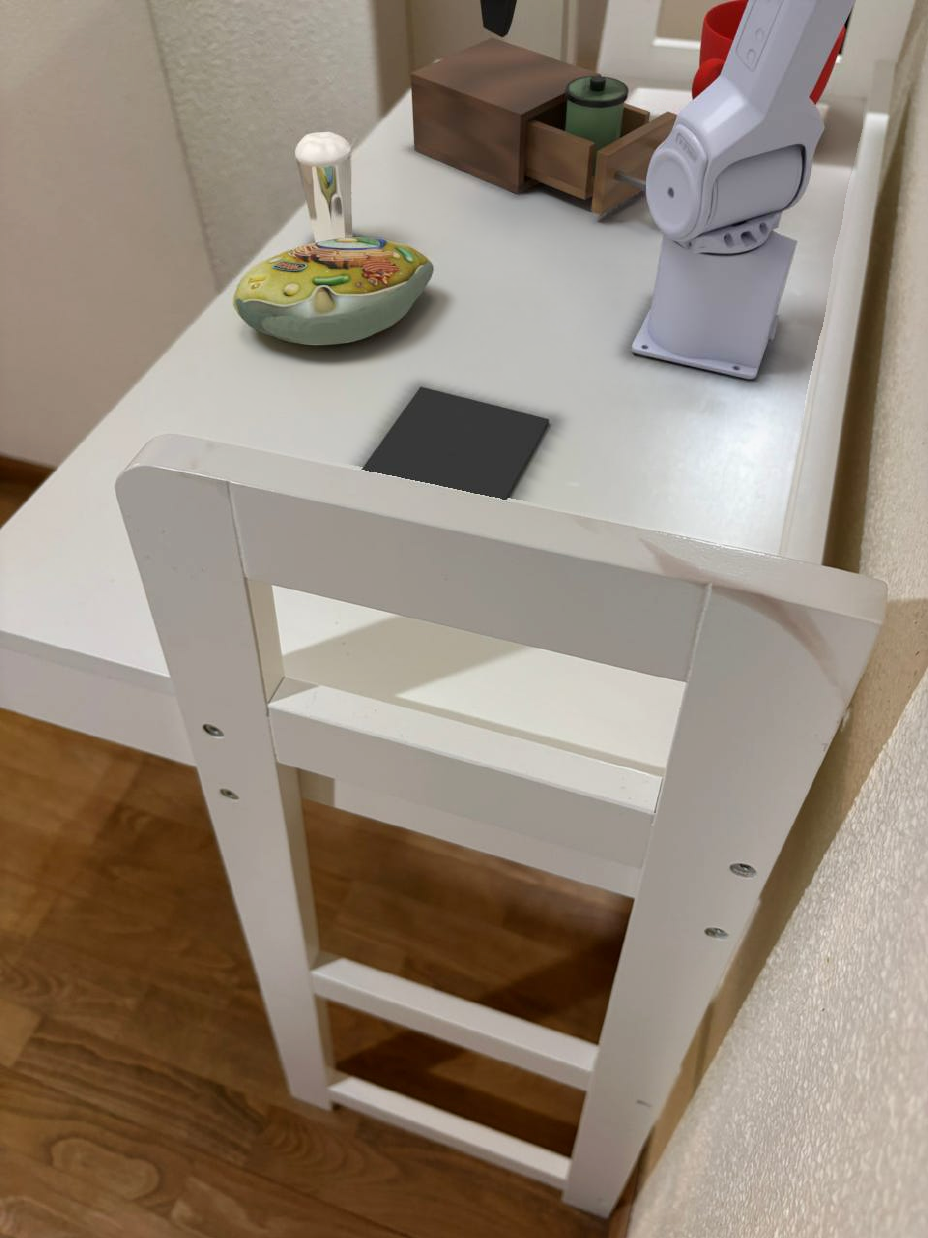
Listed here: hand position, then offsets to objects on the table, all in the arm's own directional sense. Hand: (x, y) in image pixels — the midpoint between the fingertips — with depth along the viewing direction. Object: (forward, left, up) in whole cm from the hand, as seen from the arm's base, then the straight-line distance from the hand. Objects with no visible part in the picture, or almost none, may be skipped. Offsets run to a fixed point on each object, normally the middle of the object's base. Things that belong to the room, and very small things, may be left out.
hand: (522, 11), depth 76 cm
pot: (-6, -3, -13) cm, 14 cm away
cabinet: (+4, -6, -15) cm, 16 cm away
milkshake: (+11, +16, -15) cm, 24 cm away
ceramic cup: (-17, -17, -15) cm, 29 cm away
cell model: (+6, +26, -15) cm, 30 cm away
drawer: (-8, -2, -14) cm, 16 cm away
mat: (-9, +37, -15) cm, 40 cm away
